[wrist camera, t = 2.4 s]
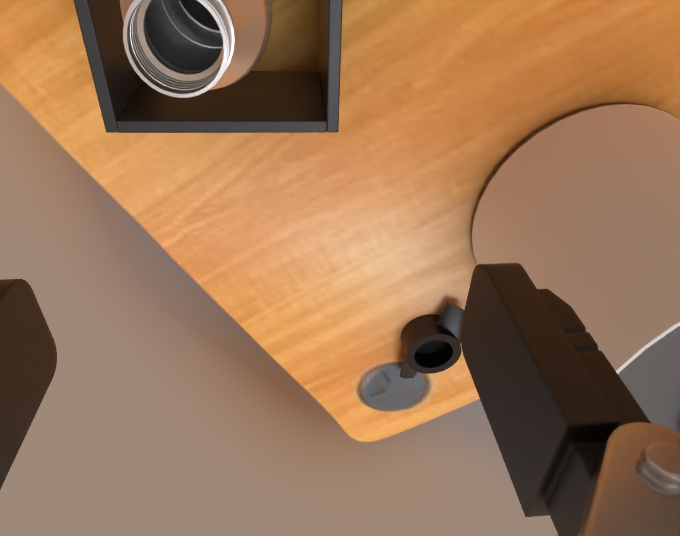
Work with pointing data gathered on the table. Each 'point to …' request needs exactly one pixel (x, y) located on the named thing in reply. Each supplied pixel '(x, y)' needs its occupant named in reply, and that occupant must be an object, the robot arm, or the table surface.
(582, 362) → the robot arm
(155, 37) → the plastic bottle
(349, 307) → the table surface
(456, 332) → the black tabbed ring
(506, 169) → the humidifier
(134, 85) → the tote
